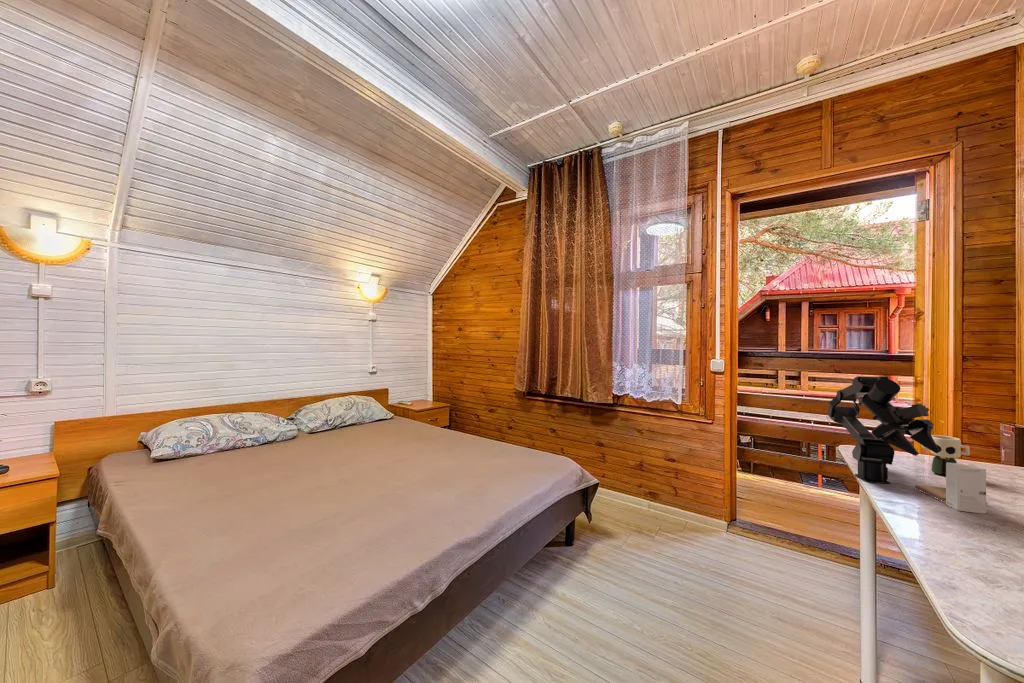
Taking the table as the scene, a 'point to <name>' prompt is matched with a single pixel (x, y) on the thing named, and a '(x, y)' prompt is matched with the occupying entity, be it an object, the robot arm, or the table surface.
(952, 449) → the character mug
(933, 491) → the walnut coaster
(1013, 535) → the table surface
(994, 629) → the table surface
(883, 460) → the robot arm
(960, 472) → the skincare box
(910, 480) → the table surface
